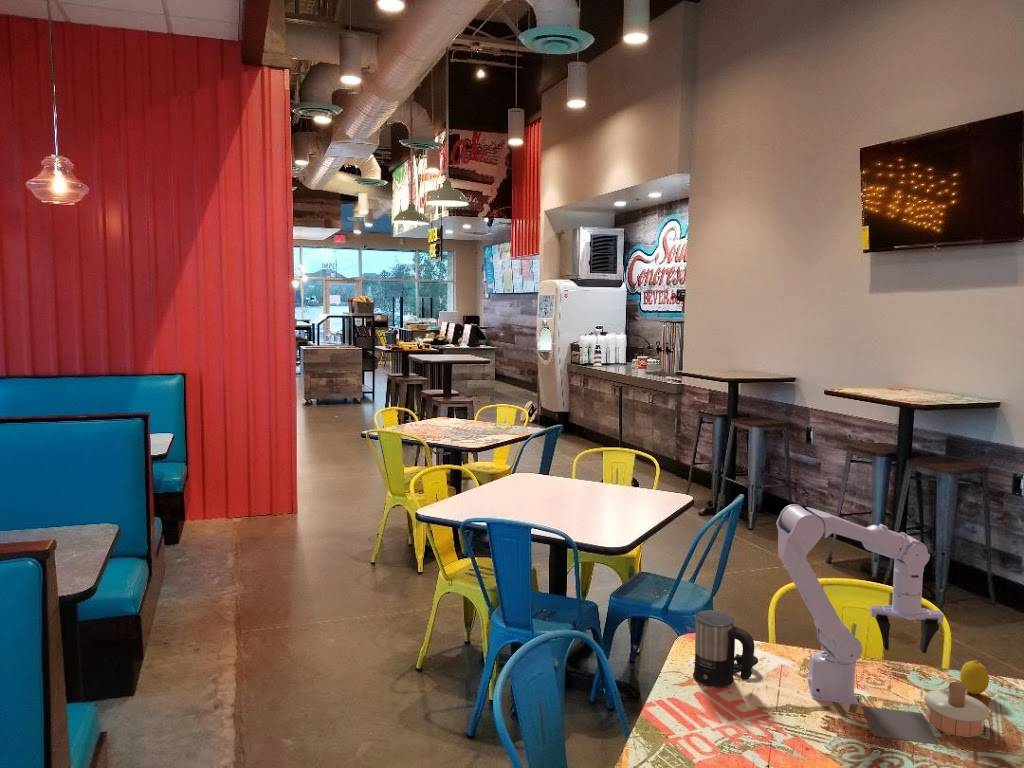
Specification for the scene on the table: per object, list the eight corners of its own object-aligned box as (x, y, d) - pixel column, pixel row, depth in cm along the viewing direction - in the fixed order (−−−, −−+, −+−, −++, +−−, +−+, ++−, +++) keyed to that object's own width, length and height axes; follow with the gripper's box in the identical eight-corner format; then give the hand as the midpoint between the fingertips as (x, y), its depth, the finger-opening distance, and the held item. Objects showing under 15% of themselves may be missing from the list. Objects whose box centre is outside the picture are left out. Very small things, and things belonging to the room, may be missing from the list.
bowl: (935, 734, 158) (936, 715, 158) (921, 709, 168) (922, 691, 168) (989, 741, 156) (991, 722, 156) (973, 715, 166) (974, 697, 165)
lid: (932, 717, 157) (934, 695, 157) (918, 689, 169) (919, 669, 168) (997, 725, 155) (998, 703, 154) (978, 696, 166) (979, 676, 165)
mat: (873, 737, 157) (873, 735, 157) (861, 707, 169) (861, 705, 169) (938, 746, 154) (939, 744, 154) (922, 715, 166) (922, 713, 166)
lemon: (991, 702, 172) (994, 667, 171) (964, 699, 173) (966, 664, 172) (981, 690, 177) (984, 656, 176) (955, 687, 178) (957, 653, 177)
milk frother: (689, 683, 179) (691, 621, 177) (698, 655, 193) (701, 597, 192) (754, 695, 173) (757, 631, 172) (759, 665, 188) (761, 606, 186)
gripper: (875, 594, 170) (872, 654, 171) (949, 600, 166) (945, 661, 168) (868, 583, 177) (866, 640, 178) (939, 588, 173) (936, 646, 175)
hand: (904, 649), depth 174 cm, fingers open, 7 cm apart
